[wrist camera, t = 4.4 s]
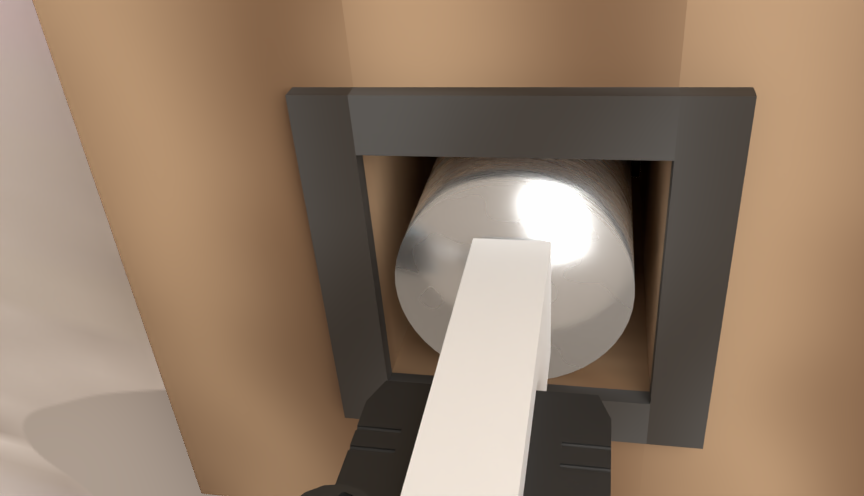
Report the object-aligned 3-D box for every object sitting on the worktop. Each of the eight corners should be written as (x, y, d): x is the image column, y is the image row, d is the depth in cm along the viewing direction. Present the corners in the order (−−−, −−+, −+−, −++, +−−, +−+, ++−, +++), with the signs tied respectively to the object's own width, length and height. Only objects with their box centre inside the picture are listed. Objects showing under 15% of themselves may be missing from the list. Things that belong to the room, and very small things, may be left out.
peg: (468, 181, 25) (406, 372, 18) (459, 31, 23) (383, 182, 15) (624, 185, 24) (627, 388, 17) (634, 28, 22) (643, 188, 14)
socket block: (312, 287, 31) (195, 504, 22) (222, -182, 22) (-26, -122, 14) (814, 314, 27) (905, 586, 19) (940, -234, 18) (1218, -198, 10)
